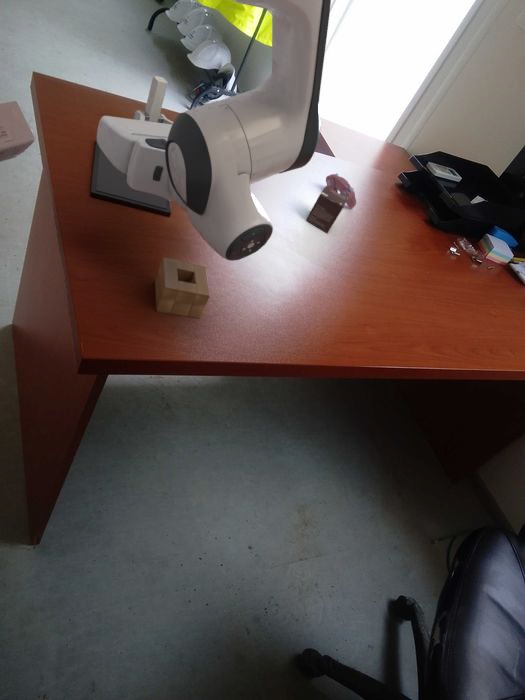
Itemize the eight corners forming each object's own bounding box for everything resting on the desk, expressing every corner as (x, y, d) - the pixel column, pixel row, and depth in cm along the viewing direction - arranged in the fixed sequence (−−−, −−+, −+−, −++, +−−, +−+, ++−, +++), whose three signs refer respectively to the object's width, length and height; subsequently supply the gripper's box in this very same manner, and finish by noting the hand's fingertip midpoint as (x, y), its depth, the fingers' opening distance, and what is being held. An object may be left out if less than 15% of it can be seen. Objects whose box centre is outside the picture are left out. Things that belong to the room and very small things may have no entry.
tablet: (169, 217, 85) (171, 212, 84) (90, 196, 79) (91, 191, 78) (164, 162, 97) (166, 157, 96) (95, 141, 91) (96, 136, 90)
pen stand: (156, 311, 67) (165, 287, 64) (155, 281, 72) (163, 256, 68) (199, 318, 70) (210, 295, 67) (195, 289, 74) (205, 266, 71)
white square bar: (135, 175, 74) (158, 81, 64) (130, 169, 75) (153, 75, 65) (143, 176, 75) (168, 83, 65) (139, 170, 76) (163, 77, 66)
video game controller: (320, 192, 124) (324, 171, 118) (332, 185, 126) (337, 164, 120) (343, 215, 121) (349, 195, 115) (356, 207, 122) (362, 188, 116)
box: (332, 224, 111) (348, 198, 106) (327, 233, 107) (343, 207, 102) (311, 211, 111) (326, 185, 106) (305, 220, 106) (320, 193, 102)
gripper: (255, 155, 68) (210, 105, 74) (129, 143, 55) (85, 83, 61) (240, 192, 72) (198, 142, 78) (119, 188, 59) (78, 129, 65)
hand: (147, 116), depth 69 cm, fingers closed on white square bar, 1 cm apart
